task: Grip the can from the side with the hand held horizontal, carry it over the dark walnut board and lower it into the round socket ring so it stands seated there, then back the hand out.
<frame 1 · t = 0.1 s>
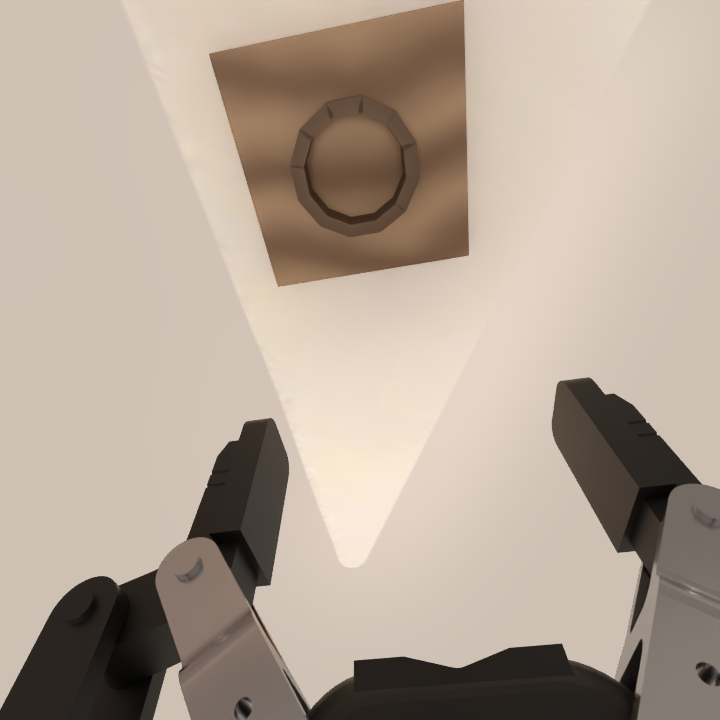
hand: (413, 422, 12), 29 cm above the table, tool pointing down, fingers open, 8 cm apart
socket board: (355, 164, 35), on the table
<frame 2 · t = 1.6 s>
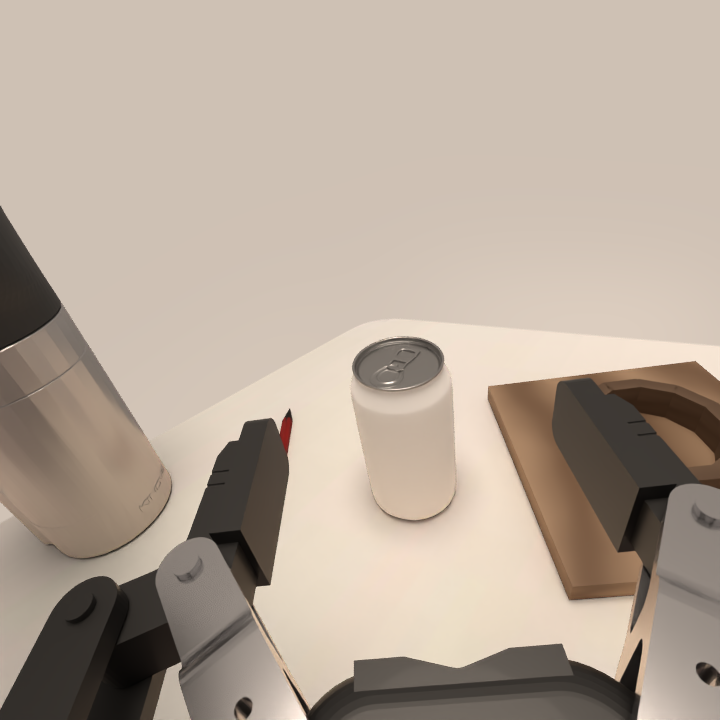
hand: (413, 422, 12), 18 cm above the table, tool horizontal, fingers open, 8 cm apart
can: (413, 488, 32), on the table
pencil: (282, 466, 36), on the table
socket board: (643, 462, 30), on the table
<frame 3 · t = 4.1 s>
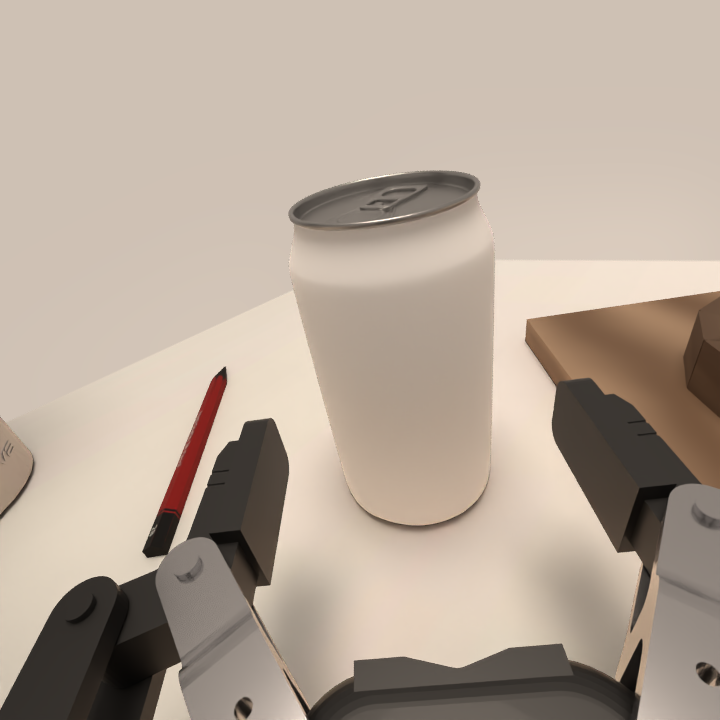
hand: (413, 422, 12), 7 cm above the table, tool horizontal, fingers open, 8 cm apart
can: (416, 471, 19), on the table
pencil: (204, 444, 23), on the table
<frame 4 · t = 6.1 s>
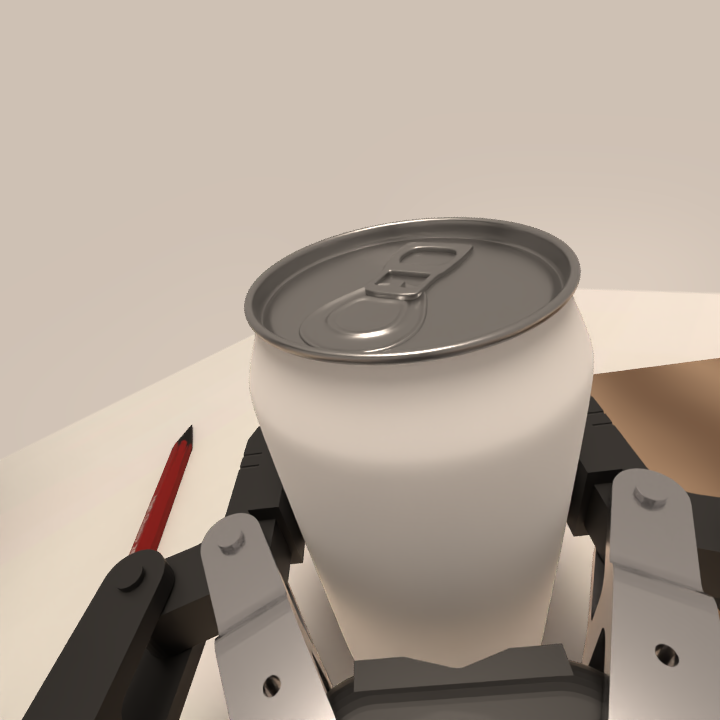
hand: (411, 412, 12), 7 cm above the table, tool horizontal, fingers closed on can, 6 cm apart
can: (437, 606, 14), on the table, touching gripper
pencil: (158, 540, 18), on the table
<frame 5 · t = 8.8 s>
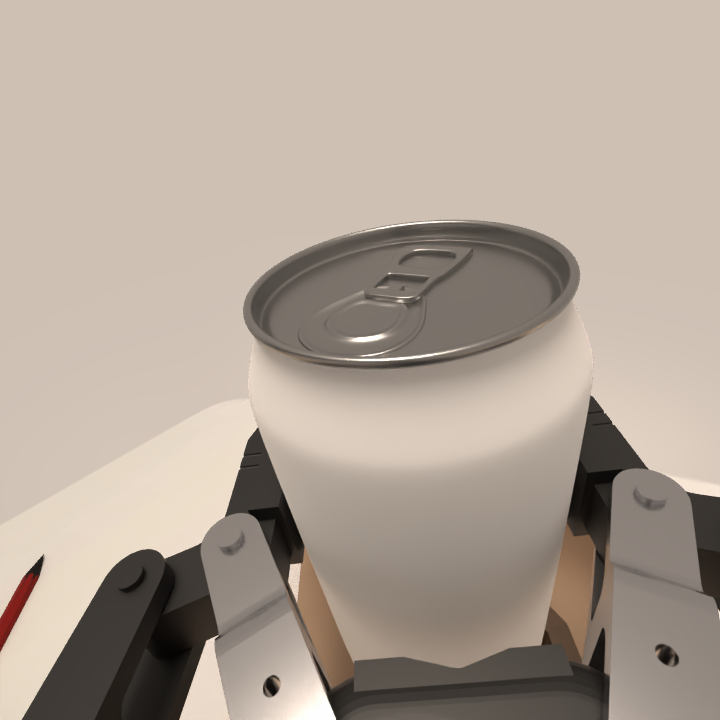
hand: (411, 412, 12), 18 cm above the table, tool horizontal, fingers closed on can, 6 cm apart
can: (437, 608, 14), point 11 cm above the table, touching gripper
socket board: (470, 697, 21), on the table
when the fingers open (9 cm above the table, at t = 11.6 s): can stays where it is, resting on socket board.
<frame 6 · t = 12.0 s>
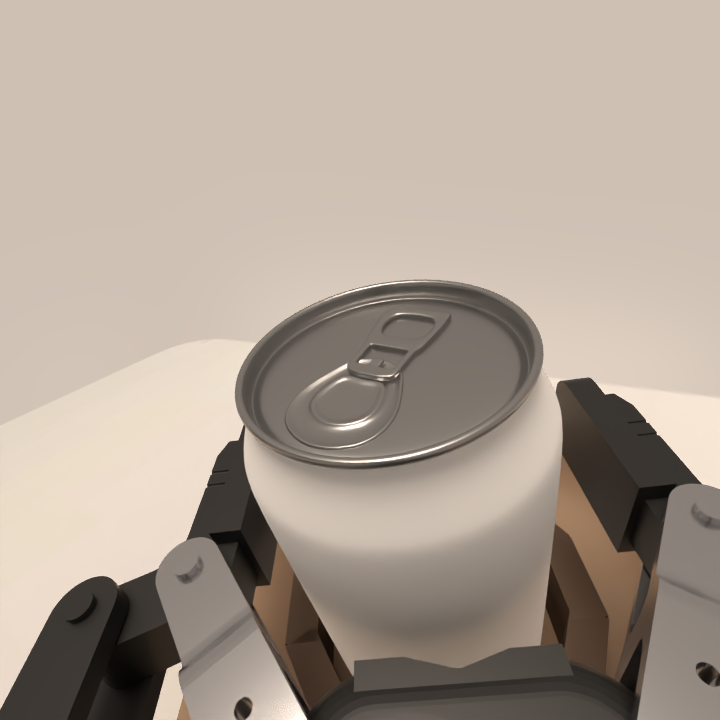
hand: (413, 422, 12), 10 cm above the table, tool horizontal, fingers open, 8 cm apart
can: (438, 629, 15), point 1 cm above the table, touching socket board
socket board: (441, 642, 15), on the table
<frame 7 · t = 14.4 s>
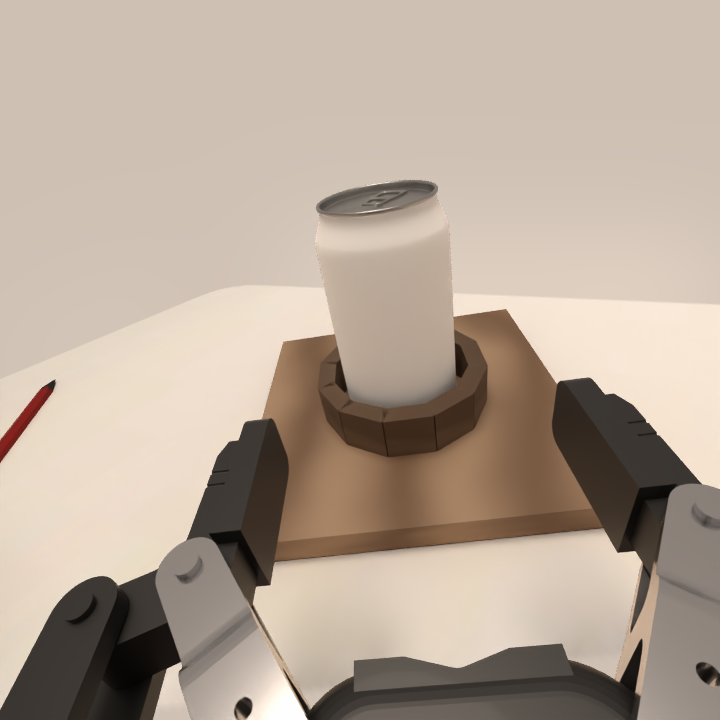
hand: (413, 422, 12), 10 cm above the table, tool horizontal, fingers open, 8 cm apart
can: (403, 400, 25), point 1 cm above the table, touching socket board
pencil: (22, 436, 32), on the table
socket board: (405, 414, 26), on the table
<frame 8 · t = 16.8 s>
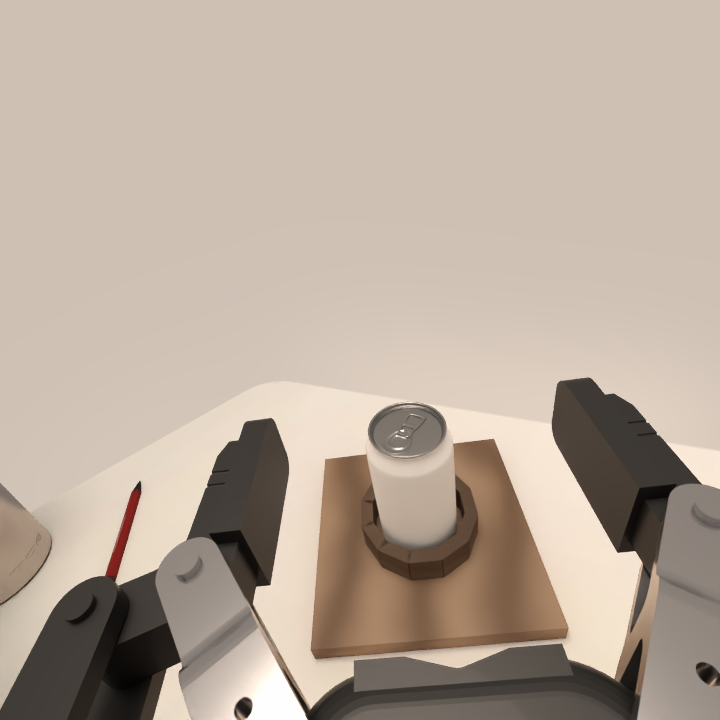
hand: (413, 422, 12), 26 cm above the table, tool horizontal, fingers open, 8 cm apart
can: (419, 527, 36), point 1 cm above the table, touching socket board
pencil: (128, 535, 43), on the table
socket board: (420, 534, 37), on the table
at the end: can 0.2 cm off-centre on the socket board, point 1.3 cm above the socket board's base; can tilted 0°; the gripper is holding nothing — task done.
